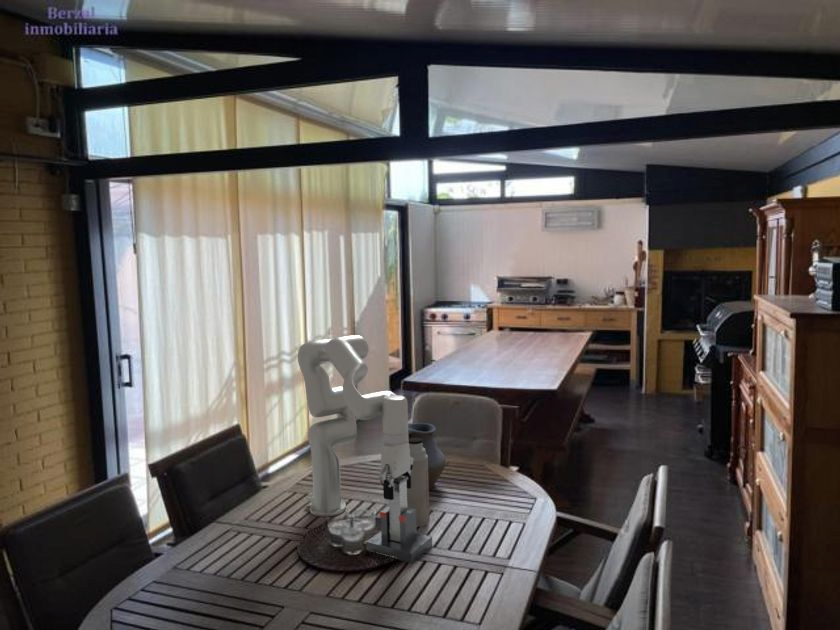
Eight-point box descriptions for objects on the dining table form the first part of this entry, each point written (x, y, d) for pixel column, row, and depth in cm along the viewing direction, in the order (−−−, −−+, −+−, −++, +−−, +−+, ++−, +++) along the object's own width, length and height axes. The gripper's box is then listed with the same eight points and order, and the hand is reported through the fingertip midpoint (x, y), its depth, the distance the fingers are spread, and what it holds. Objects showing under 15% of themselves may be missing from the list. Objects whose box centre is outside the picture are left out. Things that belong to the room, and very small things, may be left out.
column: (388, 539, 189) (386, 479, 187) (396, 533, 193) (394, 474, 191) (401, 543, 186) (399, 481, 184) (410, 536, 190) (408, 476, 189)
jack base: (366, 551, 189) (364, 512, 188) (388, 535, 199) (387, 498, 198) (411, 563, 181) (410, 523, 180) (432, 546, 191) (431, 508, 190)
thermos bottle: (431, 517, 212) (429, 436, 209) (427, 527, 204) (424, 443, 201) (408, 515, 213) (405, 435, 211) (403, 525, 206) (400, 442, 203)
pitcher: (456, 483, 242) (455, 419, 240) (426, 502, 224) (424, 434, 222) (411, 474, 253) (409, 413, 251) (379, 492, 235) (377, 427, 233)
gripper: (400, 428, 196) (402, 481, 198) (368, 443, 181) (370, 501, 183) (421, 431, 192) (423, 485, 194) (390, 447, 177) (392, 506, 179)
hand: (397, 493), depth 188 cm, fingers open, 9 cm apart
